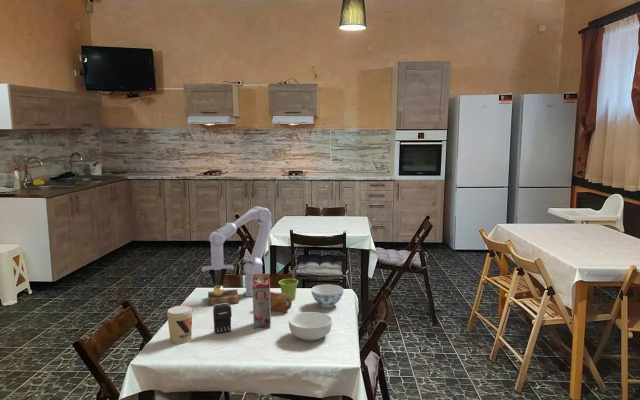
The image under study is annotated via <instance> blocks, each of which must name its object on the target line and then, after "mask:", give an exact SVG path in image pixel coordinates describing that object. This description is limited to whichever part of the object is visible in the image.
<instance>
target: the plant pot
mask: <svg viewBox="0 0 640 400" xmlns="http://www.w3.org/2000/svg"><path fill="white" fill-rule="evenodd" d="M298 283H299V280H298V279H296V278H283V279H281V280H279V281H278V284H279V286H280V291H281V292H280V293H286V294H288V295H289V296H290V298H291V300H292V301H293V300H295V299H296V296H297V295H296V293H297V286H298Z"/></svg>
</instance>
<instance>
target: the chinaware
mask: <svg viewBox="0 0 640 400" xmlns="http://www.w3.org/2000/svg"><path fill="white" fill-rule="evenodd" d="M310 289H311V290H310V291H311V295H312V297H313V299H314V301H315V302H316V303H318V304H319V305H320V307H322V308H324V309H325V308H326V309H330V308H335V305H336V304H338V302H340V300H341V299H342V297H343V294H344V290H345V289H344V288H343V287H342V286H340V285H336V284H330V283H329V284H318V285H314V286H312V288H310Z"/></svg>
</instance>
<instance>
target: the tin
mask: <svg viewBox="0 0 640 400" xmlns="http://www.w3.org/2000/svg"><path fill="white" fill-rule="evenodd" d="M292 305H293V300H291V298H290V296H289V295H288V294H286V293H282V292H277V291H270V308H271V312H278V313H286V312H288V310H290V309H291V308H292Z"/></svg>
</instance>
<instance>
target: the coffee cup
mask: <svg viewBox="0 0 640 400" xmlns="http://www.w3.org/2000/svg"><path fill="white" fill-rule="evenodd" d="M166 315H167V323H168V331H169V333H168V334H169V338H170V342H171V343H172V344H176V345H179V344H181V345H182V344H185V343H188V342H189V341H191V340H192V337H193V336H192V335H193V334H192V332H193V330H192V328H193V308H192V306H188V305H175V306H173V307H170V308H168V309H167V312H166Z"/></svg>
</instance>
